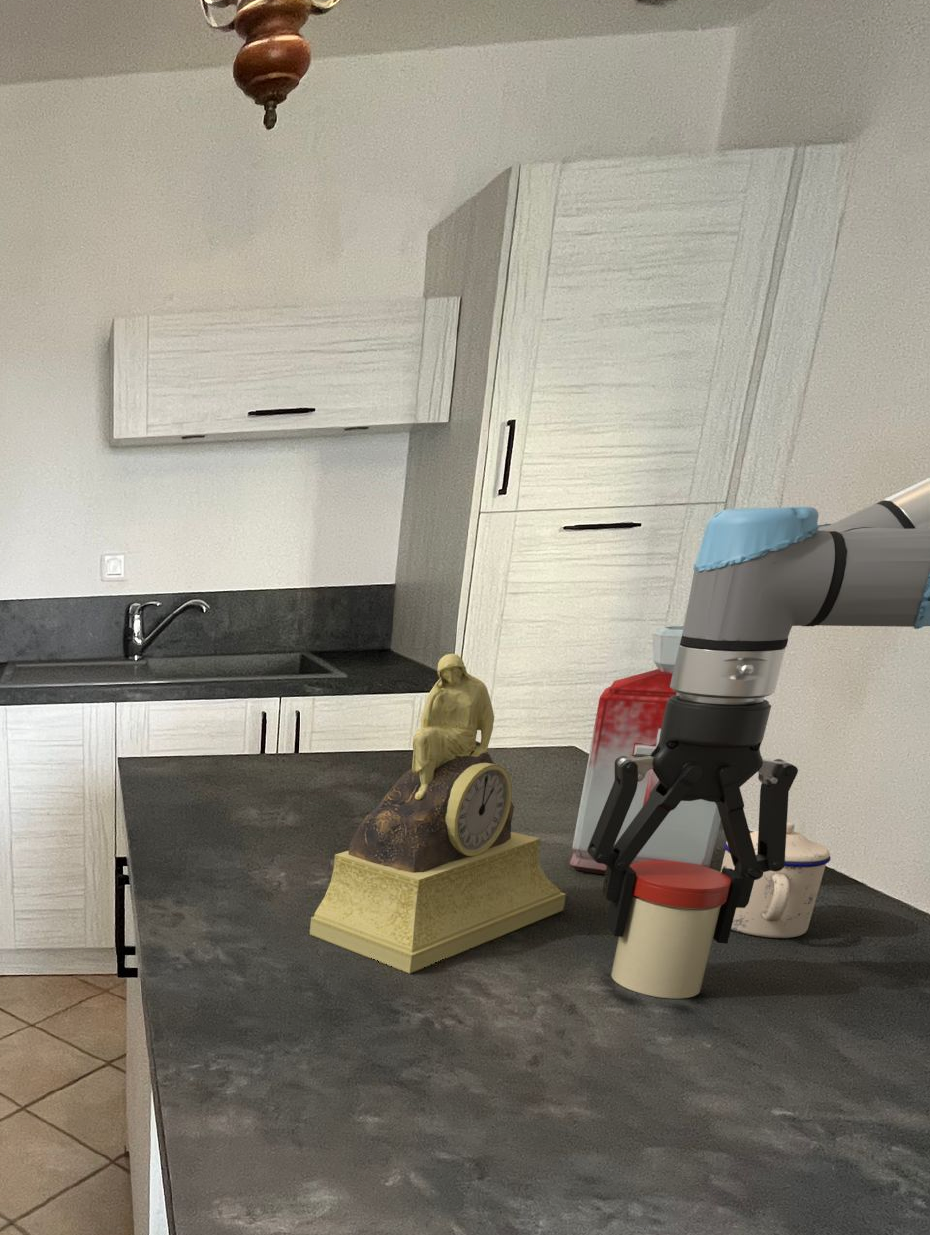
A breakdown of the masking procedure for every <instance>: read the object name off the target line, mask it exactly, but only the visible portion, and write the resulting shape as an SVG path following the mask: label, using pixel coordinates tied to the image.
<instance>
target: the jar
mask: <svg viewBox="0 0 930 1235" xmlns="http://www.w3.org/2000/svg"><path fill="white" fill-rule="evenodd" d="M720 908H721V906H717V907H712V908H683V907H674V906H668V905H663V904H658V903H654V902H650V901H647V900H644V899H641V898H639V897H637V896H635V895H633V894H632V896H631V901H630V906H629V910H628V915H627V920H626V924H625V929H624V934H623V937H619V936H617V942H616V943H617V944H616V948H615V953H614V958H613V961H612V962H613V963H612V967H611V972H610V977H611V979H612V980H613V981H614V982H615V983H617V985H619V986H621V987H623V988H625V989H627V990H630V991H632V992H635V993H638V994H642V995H644V996H645V995H646V996H650V997H656V998H660V999H670V1000H671V999H672V1000H675V999H677V1000H679V999H689V998H692V997H693V998H694V997H696V996H698V995H699V994H700V993H701V991H702V987H703V982H704V978H705V974H706V970H707V966H708V961H709V957H710V953H711V950H712V949H711V948H712V945H713V942H714V941H713V940H714V938H713V937H714V933H715V929H716V925H717V921H718V916H719V912H720Z"/></svg>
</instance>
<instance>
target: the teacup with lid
mask: <svg viewBox="0 0 930 1235" xmlns="http://www.w3.org/2000/svg"><path fill="white" fill-rule="evenodd" d="M758 830H759V829H757V830H755V831H754V830H753V831H752V832H750V835H751V839H752V843H753V846H754V850H755V854H756V855H757V852H758ZM723 848H724V850H725V851H724V854H723V859H722V863H721V867H720V871H719V872H722V868H729V869H733V870H734V869H735V867H734V865H733V862H732V858H731V854H730V851H729V847H728V843H727V840H725V842H724V844H723ZM830 861H831V853H830V851H829V849H828V848H827V847H826V846H824V845H823V844H821V843H818V842H816V841H814V840H810V839H808V838H807V837H806V836H805V835H803V834H802V833H800V832H797V831H795V824H794V823H793V822H791V821H787V831H786V849H785V865H784V868H783V869H782V870H780V871H777V872H775V871H767V872H763V876H762V877H761V878H760V879H758V880H754V884H753V888H752V892H751V896H750V899H749V903H748V905H747V906H746V907H745V908H736V911H735V915H734V919H733V923H732V927H731V931H734V932H737V933H740V934H745V935H750V936H753V937H759V938H769V939H792V938H796V937H800V936H802V935H804V934H805V933H807V931H808V930H809V926H810V922H811V918H812V915H813V912H814V908H815V905H816V901H817V897H818V894H819V890H820V888H821V883H822V879H823V877H824V873H825V869H826V866H827V864H829V862H830Z"/></svg>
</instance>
